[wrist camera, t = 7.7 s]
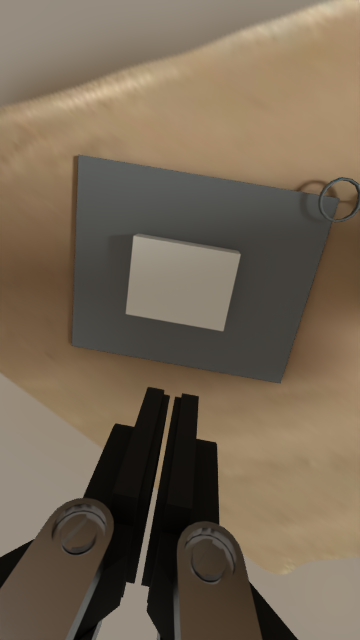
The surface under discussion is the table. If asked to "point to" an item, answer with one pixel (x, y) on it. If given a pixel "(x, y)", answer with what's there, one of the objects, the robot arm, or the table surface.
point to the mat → (201, 228)
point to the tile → (181, 281)
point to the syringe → (358, 186)
